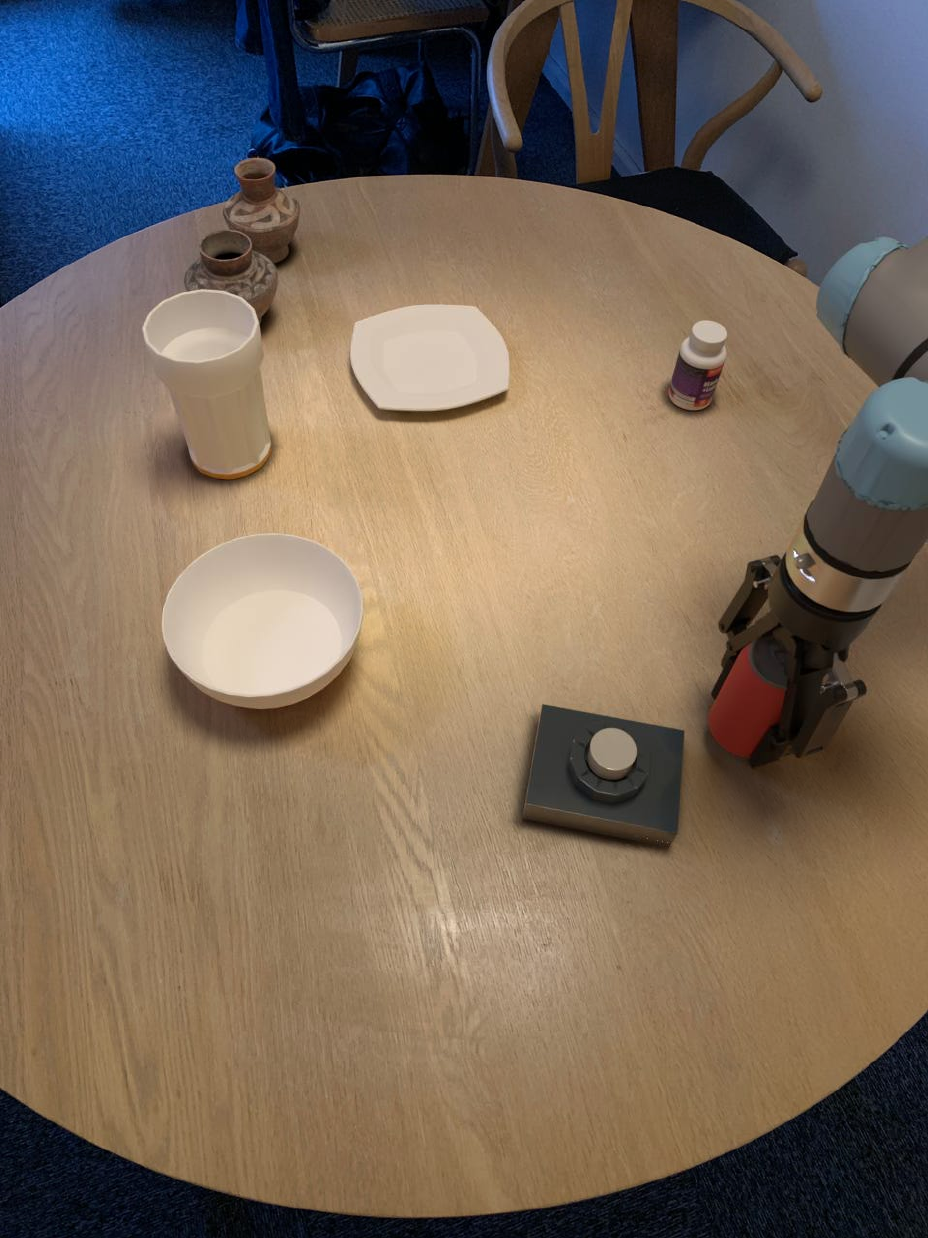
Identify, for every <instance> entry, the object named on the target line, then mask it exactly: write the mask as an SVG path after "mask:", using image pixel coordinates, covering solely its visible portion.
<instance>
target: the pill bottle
mask: <svg viewBox="0 0 928 1238" xmlns="http://www.w3.org/2000/svg"><path fill="white" fill-rule="evenodd" d="M727 337H728V331H727V329H726V327H724V325H723V324H720V323H719V322H717V321H713V320H699V321H697V322H695V324H693V326H692V328H691V330H690V334H689V336H688V337H686V338H685V339H684V340H683V342H682V343H681V345H680V348H679V351H678V355H677V357H676V362H675V366H674V369H673V372H672V376H671V379H670V383H669V387H668V397H669V399H670V401H671V402H672V403H673V404H674V405H675V406H677V407H679V408H681V409H684V410H689V411H699V410H703V409H705V408H707V407H708V406H709V405H710V404H711V403H712V401H713V398H714V396H715V392H716V389H717V386H718V383H719V380H720V377H721V375H722V371H723V369H724V366H725V362H726V359H727V355H728V353H727V348H726V346H725V344H726V341H727Z"/></svg>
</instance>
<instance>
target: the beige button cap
mask: <svg viewBox="0 0 928 1238" xmlns="http://www.w3.org/2000/svg"><path fill="white" fill-rule="evenodd" d="M636 756H637V747H636V744H635V742H634V740H633V739H632V737H631V736H630V735H629V734H627V733H626V732H624V731H622V730H620V729H616V728H607V729H603V730H601V731H599V732H597V733H596V734H595V735H594V736H593V738H592V740H591V743H590V746H589V749H588V752H587V762H588V765H589V767H590V769H591V770H592V771H593V772H594V773H595V774H596V775H597V776H599V777H601V778H603V779H606V780H618V779H621V778H623V777H625V776H626V775H627V774H628V773H629V772H630V771H631V769H632V766H633V764H634V762H635V759H636Z"/></svg>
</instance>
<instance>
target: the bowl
mask: <svg viewBox="0 0 928 1238" xmlns="http://www.w3.org/2000/svg"><path fill="white" fill-rule="evenodd" d="M364 604H365V603H364V596H363V592H362V588H361V585H360V582H359V580H358V578H357V577H356V575H355V573H354V572H353V570H352V569H351V567H350V566H349V564H347V562H346V561H345V560H344V558H342V557H341V556H340V555H338V554H337V553H335V551H333V550H331V549H330V548H329V547H327V546H325V545H324V544H321V543H319V542H317V541H316V540H313V539H310V538H306V537H304V536H303V537H302V536H299V535H295V534H287V533H279V532H273V533H272V532H271V533H256V534H250V535H245V536H240V537H236V538H233V539H231V540H228V541H226V542H223V543H220V544H218V545H216V546H214V547H213V548H211V549H208V550H207V551H205V552H204V553H202V554H201V555H199V556H198V557H197V558H196V559H194V560H193V561H192V562H190V563H189V564H188V565H187V566H186V568H184V570H183V571H182V572H181V573H180V574H179V575H178V576H177V578H176V579H175V581H174V583H172V586H171V587H170V589H169V590H168V593H167V596H166V598H165V601H164V604H163V606H162V614H161V615H162V616H161V631H162V639H163V640H162V641H163V643H164V646H165V648H166V650H167V653H168V655H169V658H170V659H171V660H172V662H173V663H174V664H175V665H176V667H177V669H178V670H179V671H180V672H181V673H182V674H183V675H184V676H185V677H186V678H187V680H188V681H189V682H190V683H192V685H194V687H196V688H197V689H199V691H201V692H202V693H203V694H205V695H207V696H209V697H211V698H213V699H214V700H216V701H219V702H221V703H225V704H227V705H232V706H234V707H240V708H241V707H242V708H246V709H247V708H248V709H257V710H264V709H265V710H266V709H277V708H282V707H286V706H291V705H294V704H298V703H299V702H302V701H304V700H306V699H309V698H310V697H312V696H313V695H315V694H317V693H319V692H320V691H322V690H323V689H324V688H325V687H327V686H328V685H330V683H331V682H333V681H334V679H336V678H337V677H338V676H339V675H340V674H341V673H342V671H343V670H344V669H345V667H347V664H348V663H350V660H351V659H352V656H353V654H354V653H355V650H356V649H357V645H358V642H359V637H360V633H361V629H362V625H363V620H364V615H365V609H364Z"/></svg>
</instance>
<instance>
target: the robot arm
mask: <svg viewBox="0 0 928 1238" xmlns="http://www.w3.org/2000/svg"><path fill="white" fill-rule="evenodd" d="M815 310H816V317H817V319H818V321H819V322H820V323H821V325H822V326H823V328H825V330H826V331H827V332H828V333H829V334H830V336H831V337H832V338H833V339H834V341H835V342H836V343H837V345H838V346H839V349H840V351H841V353H842V354H843V355H845V356H847V358H848V359H850V360H851V361H852V362H853V363H854V364H855V365H857V367H858V368H859V369H861V370H862V372H863V373H864V374H865V375H866V376H867V377H869V379H871V381H872V382H873V383H874V384H875V385H876V386H877V388H876V389H875V390H873V391H872V392H871V393H870V394H869V395H868V397H867V398H866V399H865V401H864V402H863V404H862V405H861V406H860V409H859V410H858V412H857V413H856V415H855V417H854V418H853V420H852V421H851V423H850V424H849V425H848V426H847V428H846V429H845V431H844V432H843V433H842V434H841V436H840V438H839V440H838V443H837V446H836V448H835V453H834V456H833V458H832V460H831V462H830V464H829V466H828V468H827V471H826V473H825V475H824V477H823V479H822V481H821V484H820V486H819V488H818V490H817V492H816V493H815V496H814V498H813V499H812V500H811V501H810V504H809V506H808V508H807V510H806V512H805V514H804V515H803V517H802V519H801V522H800V523H799V525H798V527H797V529H796V531H795V533H794V535H793V537H792V539H791V541H790V543H789V544H788V547H787V549H786V551H785V553H784V554H783V556H782V557H780V555H778V554H774V555H770V556H766V557H762V558H759V559H755V560H751V561H748V562H747V565H746V569H745V575H744V580H743V582H742V583H741V585H740V587H739V588H738V590H737V591H736V593H735V595H734V596H733V598H732V600H731V601H730V602H729V604H728V606H727V607H726V609H725V611H724V612H723V613H722V615H721V616H720V619H719V621H718V623H717V627H718V629H719V631H720V633H722V634H726V636H727V640H726V642H725V647H726V650H725V652H724V654H723V655H722V658H721V661H720V666H721V668H722V670H721V671H720V673H719V676H718V679H717V680H716V682H715V684H714V686H713V688H712V690H711V692H710V696H711V698H712V700H713V701H715V700H716V698H717V696H718V694H719V692H720V690H721V688H722V686H723V684H724V682H725V680H726V678H727V676H728V675H729V673H730V671H731V669H732V667H733V665H734V663H735V661H736V659H737V657H738V656H739V654H740V652H741V650H742V649H744V648H745V647H746V646H747V645H748V644H750V643H752V642H753V641H754V639H760V638H765V637H768V636H772V635H774V636H775V638H776V640H777V641H778V642H779V643H780V644H781V645H782V647H783V649H784V651H785V653H786V655H787V656H786V661H785V667H784V674H785V675H786V676H787V677H788V679H787V685H786V687H787V690H786V691H785V696H784V702H783V707H782V713H781V718H780V724H779V725H776V726H772V727H770V728H769V730H768V731H767V733H766V735H765V736H764V738H763V739H762V741H761V742H760V744H759V745H758V747H757V748H756V750H755V751H754V753H753V755H752V756H751V757H749V759H748V762H747V763H748V764H749V765H750V768H751V769H755V768H758V767H762V766H766V765H768V764H771V763H775V762H777V761H780V759H781V758H786V757H788V756H791V755H793V756H794V757H795V758H797V759H802V758H804V757H808V756H811V755H814V754H817V753H821V752H824V751H826V750H827V748H828V747H829V745H830V743H831V741H832V740H833V738H834V736H835V734H836V733H837V731H838V729H839V728H840V726H841V724H842V722H843V720H844V718H845V717H846V715H847V713H848V712H849V709H850V708H851V706H852V704H853V703H854V701H856V700H858V699H860V698H862V697H863V696H866V694H867V693H868V687H867V685H866V683H865V682H864V680H863V679H860V678H859V679H855V680H853V679H852V676H851V674H850V673H849V671H848V668H847V666H846V662H847V661H848V658H849V650H850V646H851V644H852V643H853V642H854V641H856V639H857V638H859V637H860V636H861V634H862V633H863V632H864V631H865V630H866V629H867V627H868V626H869V624H870V623H871V621H872V620H873V618H874V617H875V616H876V614H877V612H878V611H879V609H880V608H881V607H882V605H883V604H884V603H885V601H886V600H887V599H888V597H889V596H890V594H892V592H893V590H894V589H895V587H896V586H897V584H898V583H899V581H900V580H901V579H902V577H903V576H904V574H905V573H906V571H907V570H908V569H909V567H910V565H911V564H912V562H913V561H914V559H915V557H916V556H917V554H918V553H919V552H920V550H921V549H922V548H923V547H924V546H925V544H926V543H927V542H928V235H927V236H926V237H925V238H923V239H922V240H920V241H919V242H918V243H916V244H915V245H914V246H912V247H909V245H908V244H905V243H901V242H899V240H897V239H895V238H893V237H890V236H878V237H875V238H873V239H872V240H870V242H860V243H859V244H857V245H855V246H854V247H852V248H851V249H849V250H848V251H847V252H846V253H844V254H843V255H842V256H841V257H840V258H839V259H838V260H837V261H836V262H835V263H834V264H833V265H832V267H831V268H830V269H829V270H828V272H827V274H826V275H825V276H824V278H823V280H822V282H821V284H820V285H819V289H818V291H817V295H816V299H815ZM767 601H768V605H769V609H770V611H769V612H767V613H766V614H765V615H763V616H762V617H761V618H759V619H757V620H755V618H756V616H757V615H758V614H759V612H761V609H762V608H763V606H764V605H765V604H766V602H767ZM754 620H755V622H754V624H752V622H753V621H754ZM750 625H751V626H750ZM827 675H828V677H827V679H826V681H825V684H823V683H824V679H825V678H824V677H825V676H827Z"/></svg>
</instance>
